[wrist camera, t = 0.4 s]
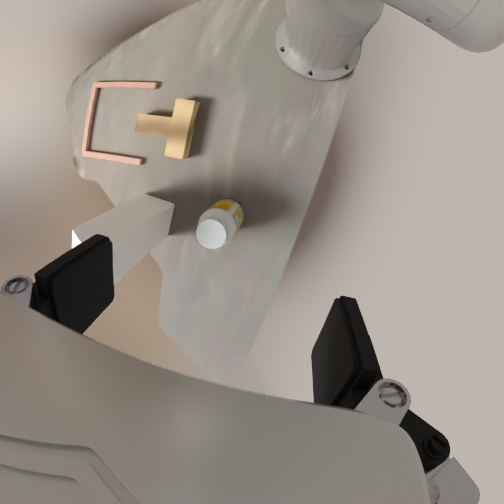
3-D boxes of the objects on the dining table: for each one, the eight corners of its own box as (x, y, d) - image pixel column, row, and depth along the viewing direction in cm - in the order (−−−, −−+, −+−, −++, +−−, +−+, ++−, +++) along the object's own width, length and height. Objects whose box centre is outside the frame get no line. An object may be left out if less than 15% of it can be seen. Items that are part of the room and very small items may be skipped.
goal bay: (96, 82, 36) (93, 82, 35) (157, 83, 36) (155, 82, 35) (83, 155, 42) (81, 155, 41) (141, 164, 41) (139, 165, 41)
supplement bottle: (251, 215, 43) (241, 235, 34) (228, 237, 45) (213, 262, 36) (225, 191, 42) (209, 205, 33) (203, 214, 44) (183, 234, 35)
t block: (149, 97, 37) (142, 95, 35) (200, 102, 37) (195, 100, 34) (139, 149, 41) (131, 150, 38) (188, 157, 40) (182, 159, 38)
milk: (175, 203, 44) (95, 257, 23) (168, 236, 46) (95, 305, 26) (144, 193, 43) (54, 238, 23) (138, 225, 46) (56, 284, 26)
